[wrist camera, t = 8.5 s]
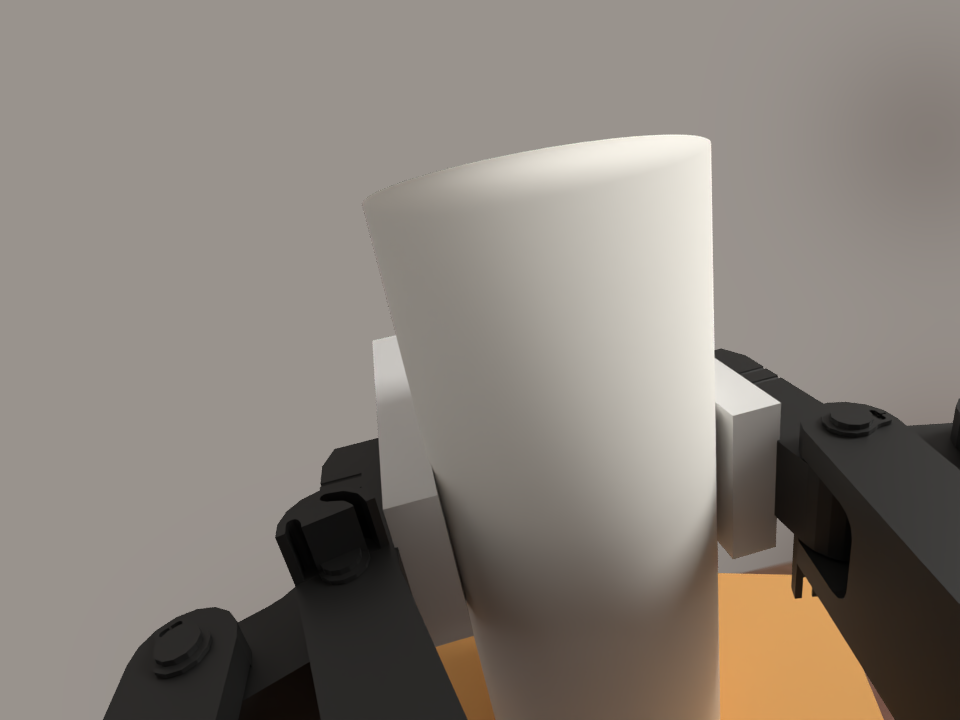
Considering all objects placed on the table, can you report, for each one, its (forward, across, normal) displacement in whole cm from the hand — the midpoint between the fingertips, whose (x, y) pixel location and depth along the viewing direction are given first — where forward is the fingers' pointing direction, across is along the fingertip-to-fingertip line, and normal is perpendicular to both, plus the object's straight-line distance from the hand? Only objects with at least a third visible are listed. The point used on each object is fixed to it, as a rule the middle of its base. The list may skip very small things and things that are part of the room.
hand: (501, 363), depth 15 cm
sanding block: (-5, 0, -8) cm, 10 cm away
